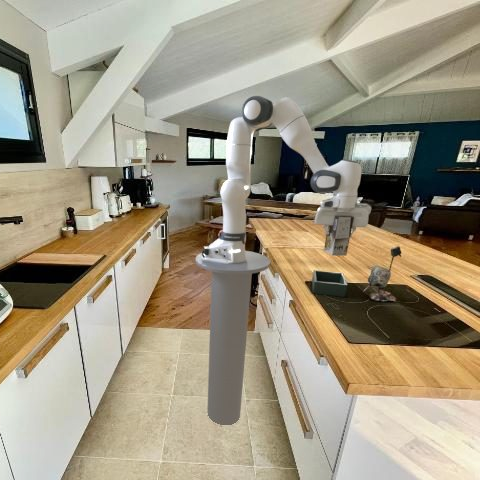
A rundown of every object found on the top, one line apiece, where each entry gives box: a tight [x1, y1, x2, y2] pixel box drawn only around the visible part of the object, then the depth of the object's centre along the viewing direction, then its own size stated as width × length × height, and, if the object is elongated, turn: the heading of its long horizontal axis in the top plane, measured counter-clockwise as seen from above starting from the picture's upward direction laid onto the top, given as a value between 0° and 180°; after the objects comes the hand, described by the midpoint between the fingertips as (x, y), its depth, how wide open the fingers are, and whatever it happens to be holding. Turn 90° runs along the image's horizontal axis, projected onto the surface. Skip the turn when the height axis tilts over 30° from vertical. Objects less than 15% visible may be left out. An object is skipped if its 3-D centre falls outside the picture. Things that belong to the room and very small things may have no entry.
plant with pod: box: [362, 245, 402, 302], centre depth 115 cm, size 8×11×20 cm
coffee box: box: [323, 216, 354, 257], centre depth 132 cm, size 9×6×16 cm
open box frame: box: [311, 269, 348, 298], centre depth 126 cm, size 12×15×5 cm
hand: (337, 236), depth 132 cm, fingers closed on coffee box, 7 cm apart
